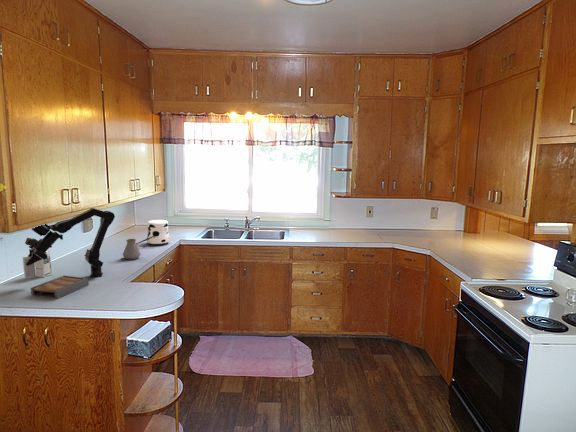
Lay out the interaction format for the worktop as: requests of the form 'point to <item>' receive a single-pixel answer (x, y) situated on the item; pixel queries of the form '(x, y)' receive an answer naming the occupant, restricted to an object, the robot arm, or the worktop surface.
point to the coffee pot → (132, 249)
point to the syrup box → (43, 266)
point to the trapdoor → (56, 284)
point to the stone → (28, 268)
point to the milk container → (158, 232)
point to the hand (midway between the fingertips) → (25, 264)
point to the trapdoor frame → (66, 289)
